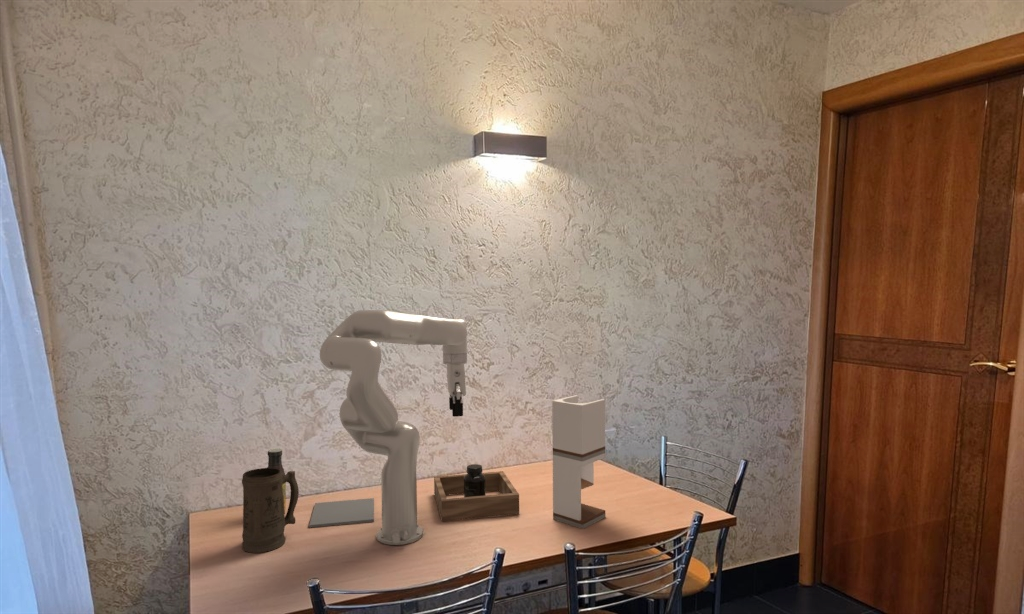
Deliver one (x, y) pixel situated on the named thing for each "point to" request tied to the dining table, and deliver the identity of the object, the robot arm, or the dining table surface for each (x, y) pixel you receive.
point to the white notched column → (576, 457)
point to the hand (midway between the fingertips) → (456, 412)
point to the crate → (475, 498)
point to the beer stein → (266, 508)
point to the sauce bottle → (275, 462)
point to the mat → (342, 512)
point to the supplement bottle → (474, 481)
